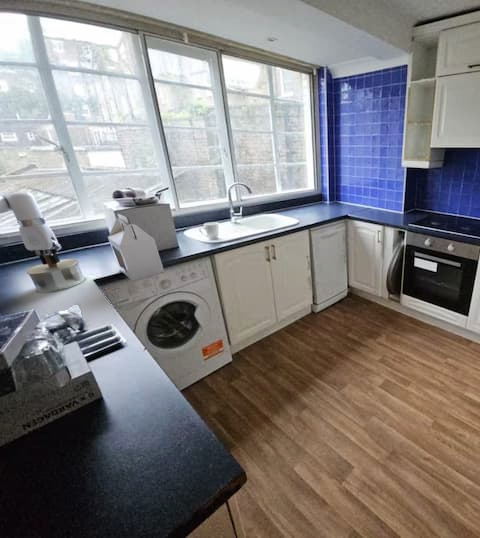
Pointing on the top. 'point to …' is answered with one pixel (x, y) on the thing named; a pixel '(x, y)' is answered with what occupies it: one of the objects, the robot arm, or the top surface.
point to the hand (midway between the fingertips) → (51, 262)
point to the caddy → (58, 279)
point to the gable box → (134, 250)
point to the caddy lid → (51, 266)
